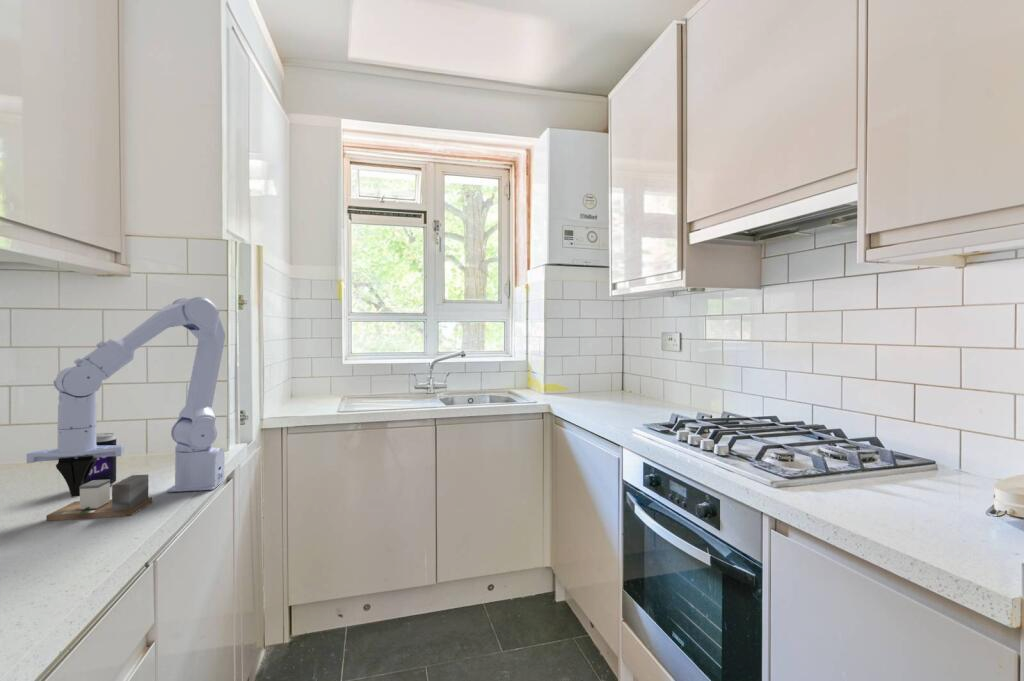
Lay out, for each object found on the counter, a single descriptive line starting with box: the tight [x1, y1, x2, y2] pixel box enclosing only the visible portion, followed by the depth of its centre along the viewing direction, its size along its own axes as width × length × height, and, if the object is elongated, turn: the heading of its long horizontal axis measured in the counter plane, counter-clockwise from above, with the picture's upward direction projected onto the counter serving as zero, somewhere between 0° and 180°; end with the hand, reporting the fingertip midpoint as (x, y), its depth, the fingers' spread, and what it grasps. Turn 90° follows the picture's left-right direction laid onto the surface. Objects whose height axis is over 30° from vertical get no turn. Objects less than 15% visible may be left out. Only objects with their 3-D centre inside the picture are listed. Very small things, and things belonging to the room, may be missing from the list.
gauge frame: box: [46, 474, 153, 522], centre depth 97 cm, size 14×8×6 cm, turn 102°
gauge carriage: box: [79, 479, 111, 512], centre depth 96 cm, size 3×6×4 cm, turn 12°
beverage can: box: [85, 432, 117, 487], centre depth 112 cm, size 6×6×12 cm
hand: (77, 495), depth 96 cm, fingers closed
